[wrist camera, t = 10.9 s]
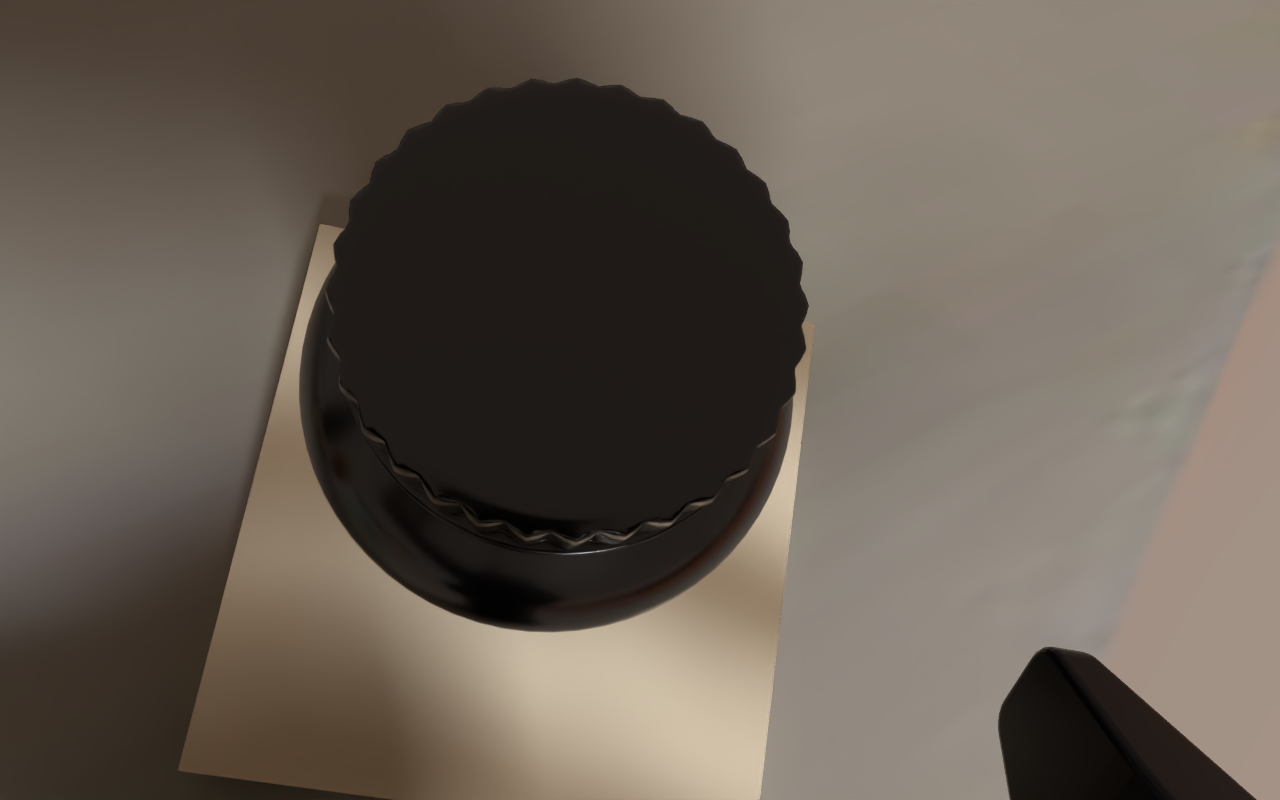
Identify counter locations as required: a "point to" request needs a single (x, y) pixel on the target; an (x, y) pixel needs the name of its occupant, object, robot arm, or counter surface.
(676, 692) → the maple board
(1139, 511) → the counter surface
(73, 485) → the counter surface
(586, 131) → the supplement bottle
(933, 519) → the counter surface
